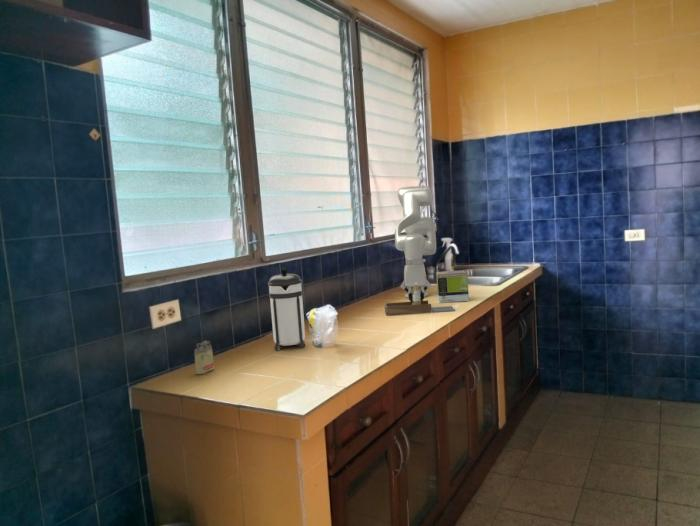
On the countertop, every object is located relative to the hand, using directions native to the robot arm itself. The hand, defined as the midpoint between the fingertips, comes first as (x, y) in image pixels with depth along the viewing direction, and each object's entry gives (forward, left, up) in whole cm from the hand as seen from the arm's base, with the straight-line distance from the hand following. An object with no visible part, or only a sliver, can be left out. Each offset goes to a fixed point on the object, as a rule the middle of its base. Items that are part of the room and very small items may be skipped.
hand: (416, 300), depth 258 cm
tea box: (-22, +21, -5) cm, 31 cm away
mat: (0, +12, -5) cm, 13 cm away
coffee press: (+48, -55, -5) cm, 73 cm away
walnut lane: (0, -4, -5) cm, 7 cm away
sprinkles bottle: (0, 0, -4) cm, 4 cm away
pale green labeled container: (+76, -80, -5) cm, 111 cm away
